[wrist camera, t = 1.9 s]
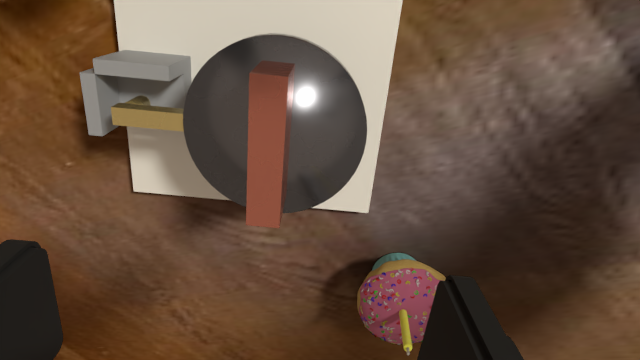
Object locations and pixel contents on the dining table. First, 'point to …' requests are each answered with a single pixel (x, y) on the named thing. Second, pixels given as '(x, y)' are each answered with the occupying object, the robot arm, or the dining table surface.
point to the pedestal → (204, 42)
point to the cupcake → (398, 299)
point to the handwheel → (267, 124)
